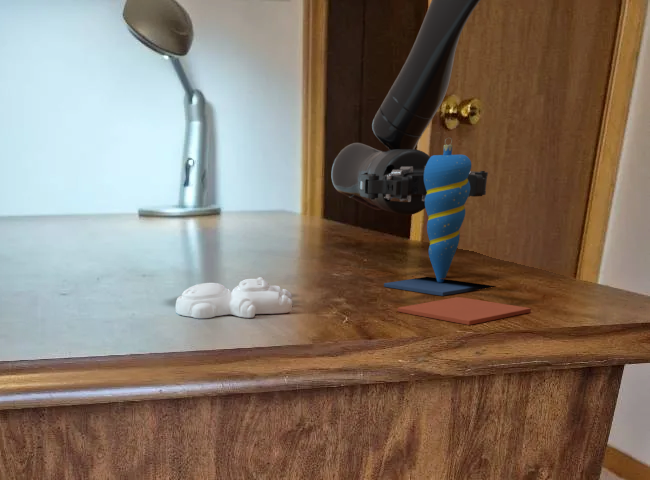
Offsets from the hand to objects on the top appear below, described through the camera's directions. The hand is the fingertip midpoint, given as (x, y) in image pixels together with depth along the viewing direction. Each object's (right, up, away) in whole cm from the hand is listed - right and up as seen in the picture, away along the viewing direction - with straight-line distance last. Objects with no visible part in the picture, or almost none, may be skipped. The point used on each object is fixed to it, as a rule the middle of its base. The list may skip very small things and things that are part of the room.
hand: (442, 187), depth 88 cm
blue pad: (0, -10, +3) cm, 11 cm away
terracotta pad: (-1, -17, -11) cm, 20 cm away
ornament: (0, -10, +3) cm, 10 cm away
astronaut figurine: (-23, -16, -7) cm, 29 cm away
